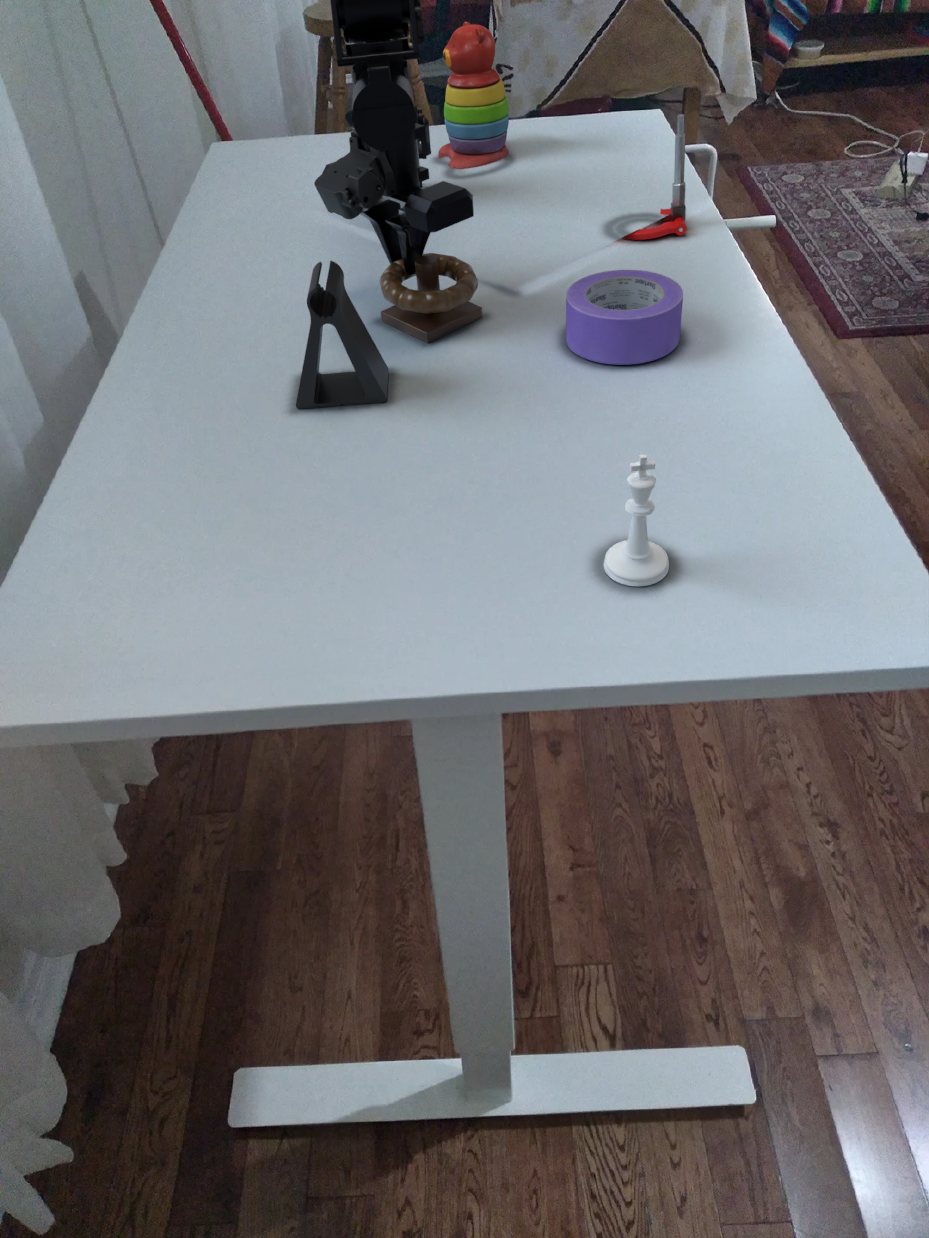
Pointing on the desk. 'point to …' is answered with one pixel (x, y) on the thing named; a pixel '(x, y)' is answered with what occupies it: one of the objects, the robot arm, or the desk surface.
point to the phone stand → (358, 344)
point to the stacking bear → (474, 100)
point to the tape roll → (623, 316)
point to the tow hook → (678, 196)
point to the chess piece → (638, 535)
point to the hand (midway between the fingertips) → (404, 271)
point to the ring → (430, 299)
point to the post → (433, 323)
